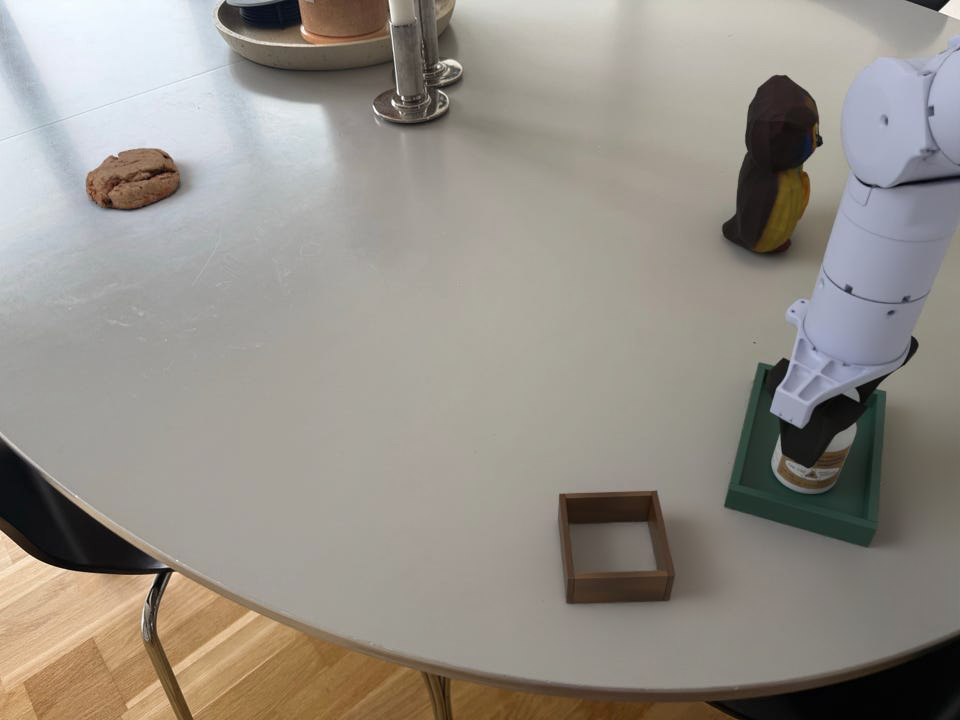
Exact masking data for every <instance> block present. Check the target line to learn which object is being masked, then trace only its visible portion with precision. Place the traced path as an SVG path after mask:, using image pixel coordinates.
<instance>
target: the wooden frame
mask: <svg viewBox="0 0 960 720" xmlns="http://www.w3.org/2000/svg"><path fill="white" fill-rule="evenodd" d="M625 522H627V523H628V522H647V525H648V530H649V535H650V541H651V546H652V550H653V555H654V561H655V566H656V570H639V571H637V570H636V571H634V570H633V571H632V570H631V571H604V572H603V571H601V572H599V571H597V572H574V564H573V554H572V553H573V552H572V545H571V535H570V527H569V526H570V525H569V524H591V523H593V524H594V523H625ZM557 524H558V534H559V535H558V536H559V546H560V557H561V566H562V577H563V586H564V597H565V603H566V604H595V603H596V604H597V603H599V604H600V603H601V604H602V603H630V602H631V603H634V602H635V603H636V602H669V601H670V600H671V596H672V591H673V587H674V582H675V578H676V573H675V568H674V564H673V559H672V553H671V550H670V545H669V544H670V543H669V540H668V535H667V531H666V526H665V521H664V517H663V513H662V507H661V503H660V498H659V494H658V490H634V491H632V490H631V491H630V490H629V491H598V492H595V491H594V492H567V493H559V494H558V507H557Z"/></svg>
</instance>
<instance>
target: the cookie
mask: <svg viewBox="0 0 960 720" xmlns="http://www.w3.org/2000/svg"><path fill="white" fill-rule="evenodd" d="M178 170H179V169H178V167H177V165H176V163H175V161H174V159H173V158H172V157H171V156H170V154H169V153H167V152H166V151H165V150H162V149H161V148H152V147H151V148H150V147H139V148H133V149H132V148H131V149H128V150H123V151H119V152H118V153H117V156H114V155H113V154H111V155H108V156H107V157H106V158H105V159H103V161H102V162H101V163H100V165H99V166H97V167H96V168H94V169H93V170H91V171H89V172H88V173H87V174H86V178H85V192H86V194H87V196H88V198H89V200H90V201H91V202H93V203H95V205H98V206H99V207H100V209H106V208H113V209H114V208H116V209H118V210H123V209H125V210H130V209H131V210H132V209H137V208H142V207H143V206H148V205H150V204H152V203H155V202H158V201H159V200H162V199H164V198H168V197H169V196H170V195H173V192H175V191H176V190H177V188H178V187H179V182H180V176H181V175H180V172H179V171H178Z"/></svg>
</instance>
